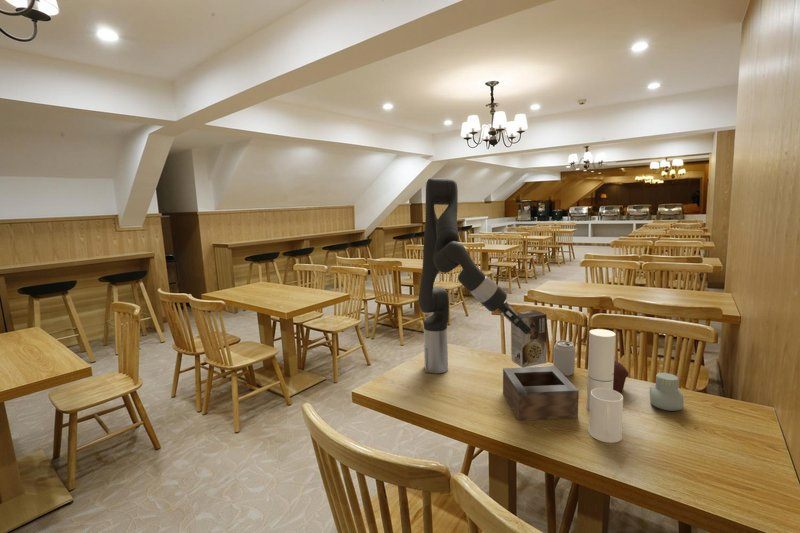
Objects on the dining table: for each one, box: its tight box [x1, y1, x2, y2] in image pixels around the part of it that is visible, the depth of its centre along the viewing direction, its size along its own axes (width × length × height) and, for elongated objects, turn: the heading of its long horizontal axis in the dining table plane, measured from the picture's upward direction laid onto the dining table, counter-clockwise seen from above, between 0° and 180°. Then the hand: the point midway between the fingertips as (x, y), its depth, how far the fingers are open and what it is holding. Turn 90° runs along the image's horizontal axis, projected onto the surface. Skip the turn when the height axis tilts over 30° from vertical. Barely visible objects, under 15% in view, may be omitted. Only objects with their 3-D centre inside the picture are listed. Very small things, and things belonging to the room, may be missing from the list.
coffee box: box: [510, 309, 548, 368], centre depth 126 cm, size 9×6×16 cm
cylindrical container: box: [586, 328, 616, 412], centre depth 124 cm, size 7×7×25 cm
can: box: [552, 340, 576, 377], centre depth 152 cm, size 8×8×12 cm
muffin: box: [613, 359, 630, 394], centre depth 138 cm, size 12×11×10 cm
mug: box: [587, 388, 624, 444], centre depth 110 cm, size 12×8×12 cm
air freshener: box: [649, 372, 685, 412], centre depth 125 cm, size 11×8×10 cm
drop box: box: [502, 365, 580, 422], centre depth 129 cm, size 18×18×9 cm
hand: (524, 327), depth 125 cm, fingers closed on coffee box, 7 cm apart
